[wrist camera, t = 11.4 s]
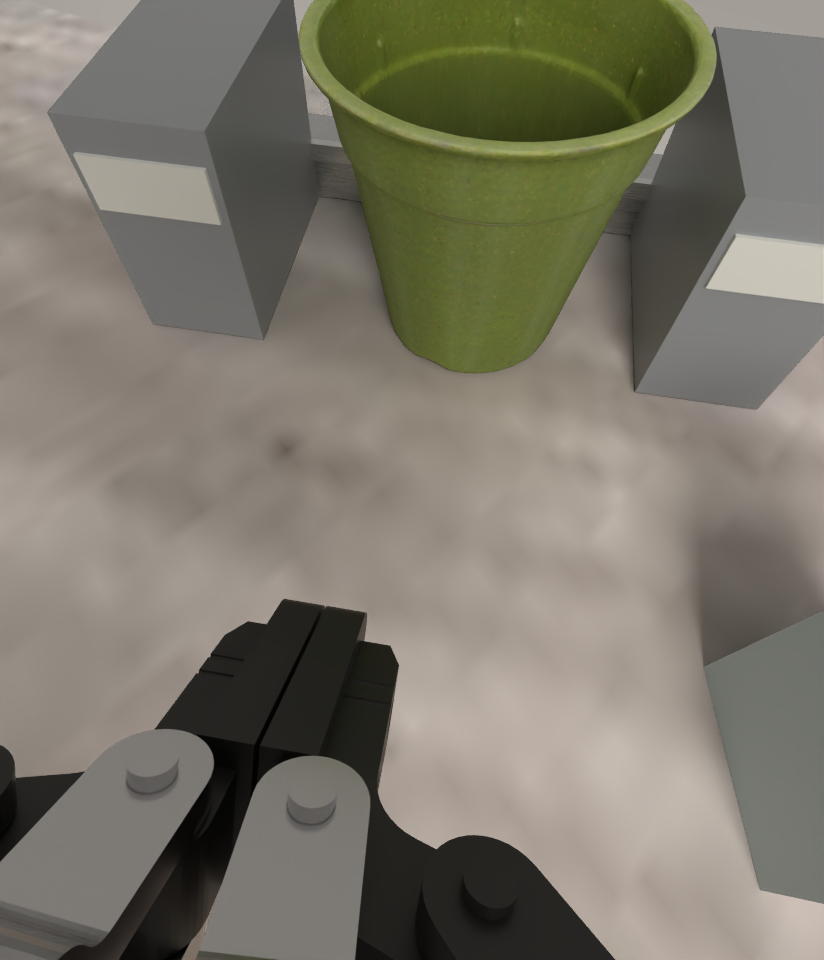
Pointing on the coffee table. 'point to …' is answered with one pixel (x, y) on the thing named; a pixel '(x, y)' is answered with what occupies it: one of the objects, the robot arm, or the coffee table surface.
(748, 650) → the block
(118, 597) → the coffee table surface
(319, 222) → the coffee table surface
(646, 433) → the coffee table surface
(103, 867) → the robot arm
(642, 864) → the coffee table surface
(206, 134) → the block
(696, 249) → the block
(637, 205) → the rail strip
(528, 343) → the plant pot
